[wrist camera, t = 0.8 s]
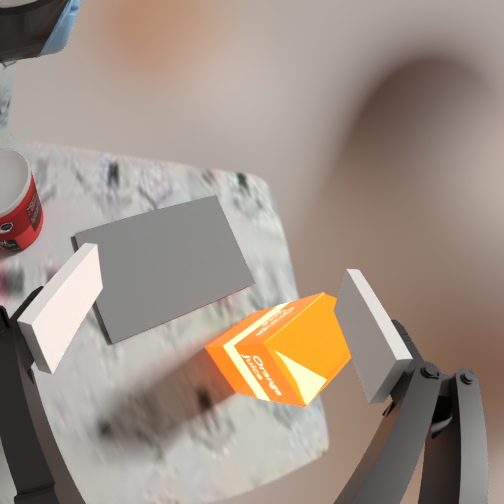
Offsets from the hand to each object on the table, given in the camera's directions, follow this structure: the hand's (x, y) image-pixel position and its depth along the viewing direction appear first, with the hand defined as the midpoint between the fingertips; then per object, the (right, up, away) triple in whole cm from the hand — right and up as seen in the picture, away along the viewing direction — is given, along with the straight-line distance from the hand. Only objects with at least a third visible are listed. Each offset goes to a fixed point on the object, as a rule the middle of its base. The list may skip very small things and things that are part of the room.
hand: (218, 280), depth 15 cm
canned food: (-28, +5, +14) cm, 31 cm away
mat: (-9, 0, +22) cm, 24 cm away
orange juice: (+1, -12, +24) cm, 27 cm away
